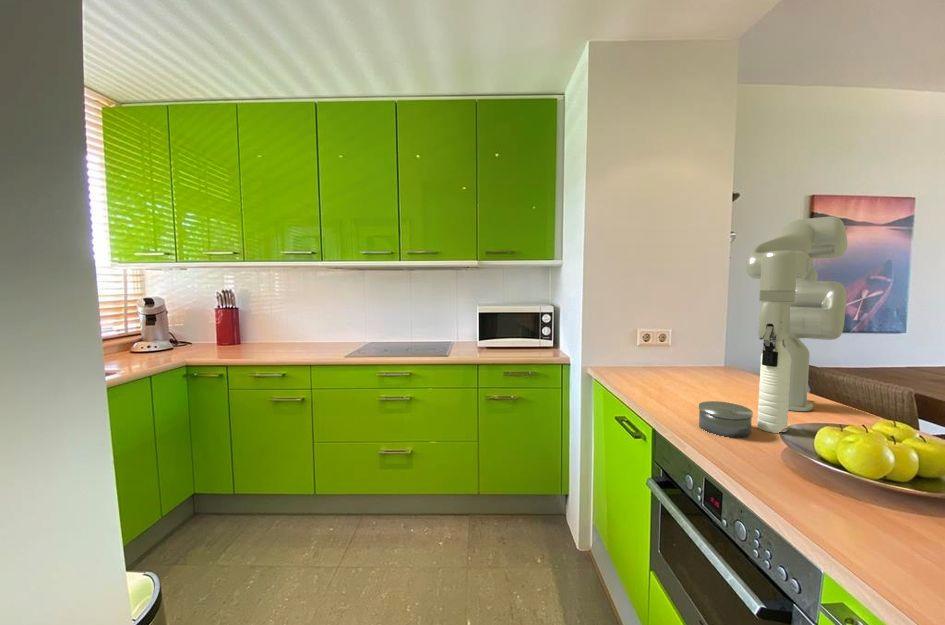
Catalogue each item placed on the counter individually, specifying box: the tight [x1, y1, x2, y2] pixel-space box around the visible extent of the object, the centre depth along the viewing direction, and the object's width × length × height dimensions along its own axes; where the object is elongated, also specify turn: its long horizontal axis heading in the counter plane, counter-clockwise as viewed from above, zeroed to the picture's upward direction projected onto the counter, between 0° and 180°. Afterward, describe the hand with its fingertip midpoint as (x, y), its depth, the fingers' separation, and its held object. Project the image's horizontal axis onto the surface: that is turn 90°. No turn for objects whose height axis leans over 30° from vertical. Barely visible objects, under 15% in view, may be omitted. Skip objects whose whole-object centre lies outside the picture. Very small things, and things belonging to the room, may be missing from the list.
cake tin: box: [698, 400, 754, 439], centre depth 106 cm, size 12×12×6 cm
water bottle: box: [756, 338, 791, 434], centre depth 106 cm, size 9×6×25 cm
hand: (773, 363), depth 105 cm, fingers closed on water bottle, 6 cm apart
